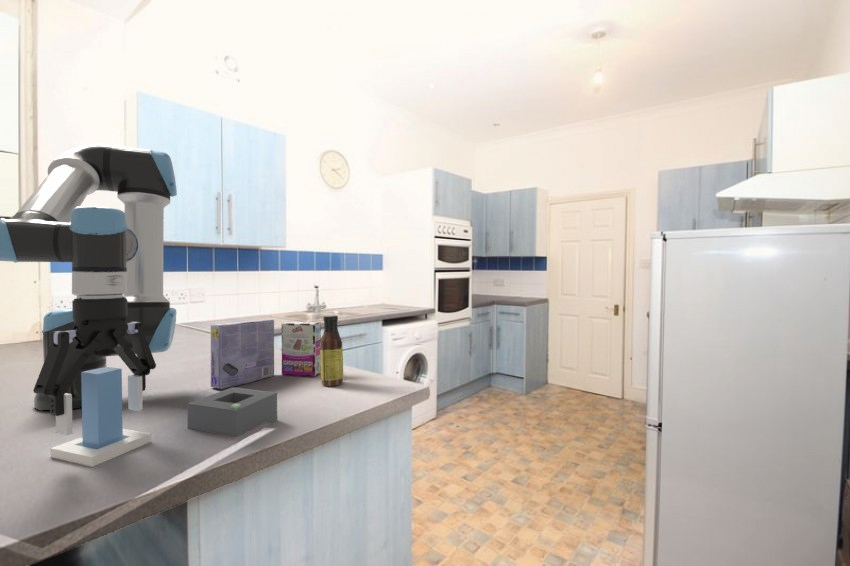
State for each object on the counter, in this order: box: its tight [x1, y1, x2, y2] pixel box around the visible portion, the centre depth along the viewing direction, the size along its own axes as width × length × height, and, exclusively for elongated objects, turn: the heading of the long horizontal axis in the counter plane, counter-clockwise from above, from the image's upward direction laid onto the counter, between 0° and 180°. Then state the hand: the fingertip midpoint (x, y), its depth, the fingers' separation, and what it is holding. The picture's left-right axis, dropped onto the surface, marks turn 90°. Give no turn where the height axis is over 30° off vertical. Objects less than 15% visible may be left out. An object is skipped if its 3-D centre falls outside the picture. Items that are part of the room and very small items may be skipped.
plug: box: [81, 366, 124, 449], centre depth 71 cm, size 4×4×14 cm
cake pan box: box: [210, 319, 275, 391], centre depth 118 cm, size 19×5×18 cm, turn 150°
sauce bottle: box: [320, 314, 344, 387], centre depth 116 cm, size 7×6×20 cm
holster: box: [50, 428, 152, 467], centre depth 72 cm, size 10×10×2 cm
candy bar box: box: [281, 321, 322, 378], centre depth 127 cm, size 11×5×16 cm, turn 81°
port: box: [187, 386, 278, 437], centre depth 85 cm, size 12×12×6 cm
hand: (102, 420), depth 71 cm, fingers open, 11 cm apart
